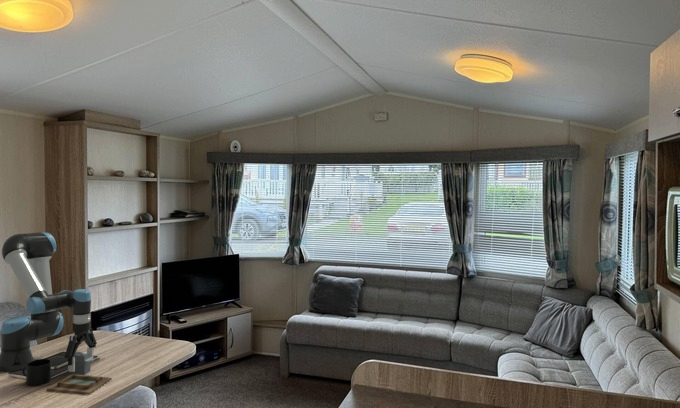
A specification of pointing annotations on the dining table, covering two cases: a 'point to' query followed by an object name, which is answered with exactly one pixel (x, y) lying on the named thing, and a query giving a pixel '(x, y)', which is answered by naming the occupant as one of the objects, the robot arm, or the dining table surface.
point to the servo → (82, 363)
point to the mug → (38, 372)
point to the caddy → (79, 384)
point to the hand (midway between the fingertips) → (81, 366)
